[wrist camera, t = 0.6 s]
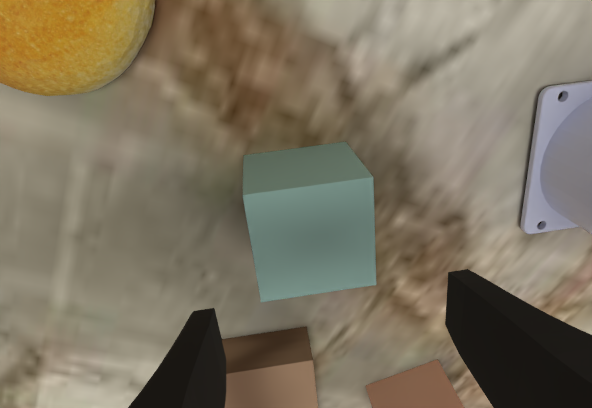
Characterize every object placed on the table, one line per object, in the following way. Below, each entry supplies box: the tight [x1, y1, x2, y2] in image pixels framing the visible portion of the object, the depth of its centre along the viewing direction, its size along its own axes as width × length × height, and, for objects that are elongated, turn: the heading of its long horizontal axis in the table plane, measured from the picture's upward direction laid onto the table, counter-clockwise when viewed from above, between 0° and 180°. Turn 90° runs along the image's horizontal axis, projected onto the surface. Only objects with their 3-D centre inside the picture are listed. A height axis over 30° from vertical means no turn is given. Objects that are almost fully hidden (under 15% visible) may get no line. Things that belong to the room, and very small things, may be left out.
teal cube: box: [243, 142, 376, 302], centre depth 19 cm, size 5×5×5 cm
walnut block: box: [222, 327, 318, 408], centre depth 25 cm, size 7×7×3 cm
